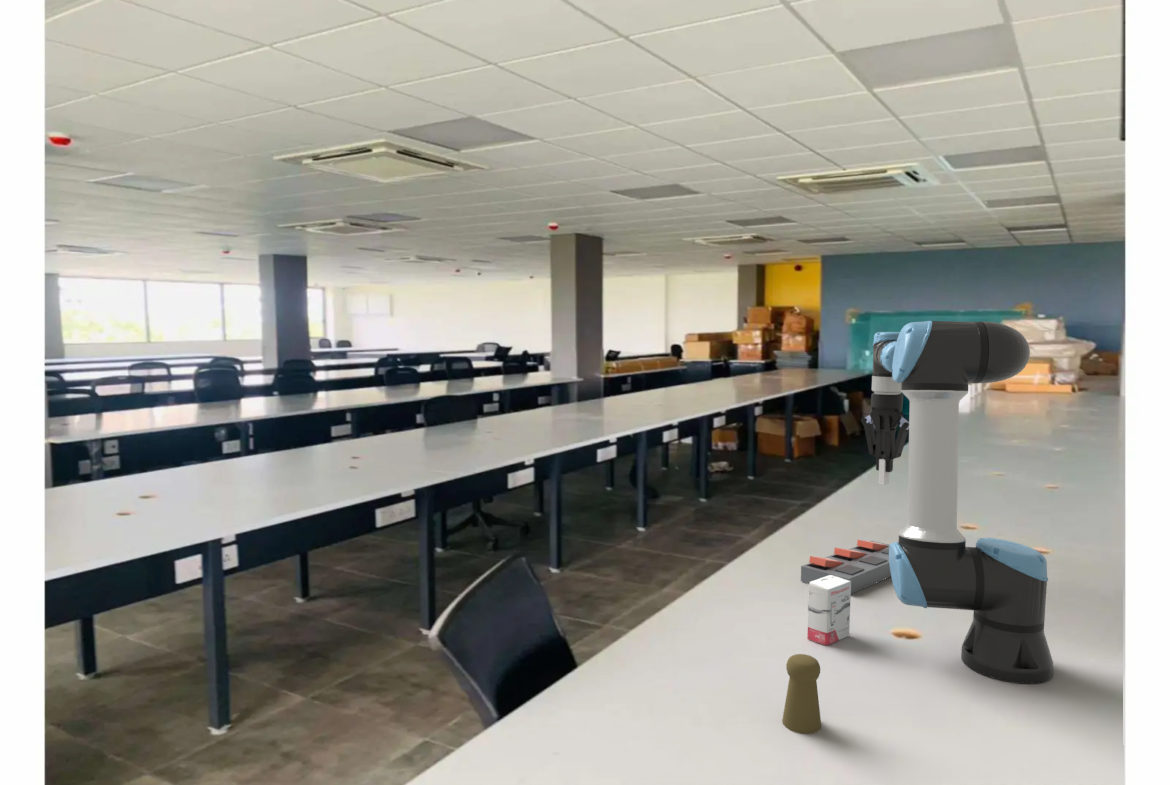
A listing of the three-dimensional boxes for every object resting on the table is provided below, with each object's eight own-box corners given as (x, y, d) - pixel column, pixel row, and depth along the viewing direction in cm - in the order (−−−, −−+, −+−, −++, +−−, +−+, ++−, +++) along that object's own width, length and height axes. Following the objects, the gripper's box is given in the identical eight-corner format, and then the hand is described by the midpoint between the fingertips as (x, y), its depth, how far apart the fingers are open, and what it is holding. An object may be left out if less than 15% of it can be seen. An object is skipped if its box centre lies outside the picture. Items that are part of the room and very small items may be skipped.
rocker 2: (864, 559, 201) (865, 553, 201) (849, 557, 196) (850, 550, 196) (849, 555, 204) (850, 549, 204) (833, 553, 199) (834, 547, 199)
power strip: (931, 559, 210) (932, 544, 210) (848, 595, 181) (848, 577, 181) (886, 549, 220) (887, 534, 219) (800, 581, 191) (801, 564, 191)
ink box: (826, 646, 152) (828, 588, 151) (805, 639, 156) (807, 582, 155) (850, 635, 158) (852, 579, 157) (829, 628, 161) (831, 573, 160)
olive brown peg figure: (814, 714, 126) (815, 649, 125) (826, 733, 120) (829, 665, 119) (777, 714, 125) (779, 649, 124) (788, 734, 119) (790, 666, 118)
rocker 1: (841, 568, 193) (842, 561, 193) (824, 566, 188) (825, 559, 188) (825, 564, 197) (826, 557, 197) (809, 562, 191) (810, 555, 192)
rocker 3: (886, 551, 208) (887, 545, 209) (872, 549, 203) (873, 542, 203) (871, 547, 212) (872, 541, 212) (856, 545, 206) (857, 539, 207)
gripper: (919, 393, 192) (915, 485, 194) (871, 389, 202) (867, 477, 204) (904, 395, 187) (900, 490, 189) (855, 391, 197) (852, 481, 199)
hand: (883, 483), depth 197 cm, fingers closed
